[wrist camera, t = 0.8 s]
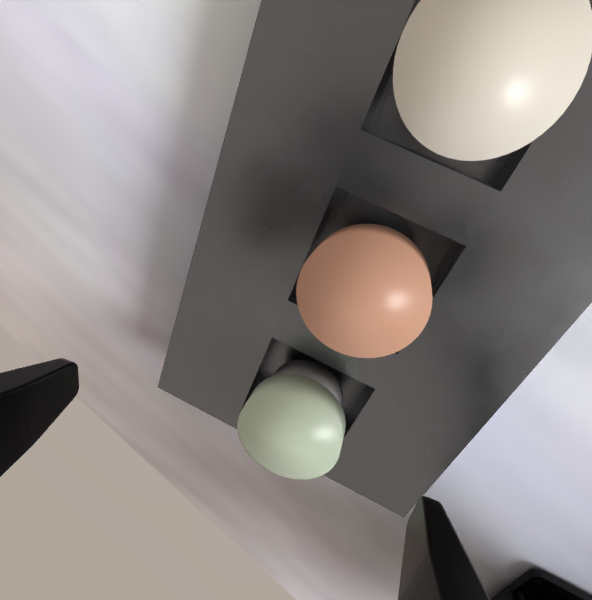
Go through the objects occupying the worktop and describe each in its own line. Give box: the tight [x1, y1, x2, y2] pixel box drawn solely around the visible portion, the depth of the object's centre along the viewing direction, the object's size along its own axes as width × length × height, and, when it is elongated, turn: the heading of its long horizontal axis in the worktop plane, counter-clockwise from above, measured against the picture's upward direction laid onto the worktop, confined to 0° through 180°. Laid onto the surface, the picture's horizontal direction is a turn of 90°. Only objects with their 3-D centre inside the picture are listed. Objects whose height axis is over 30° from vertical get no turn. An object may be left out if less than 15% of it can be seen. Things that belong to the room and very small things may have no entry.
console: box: [158, 0, 592, 517], centre depth 16 cm, size 14×21×3 cm, turn 158°
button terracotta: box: [296, 224, 433, 358], centre depth 14 cm, size 4×4×3 cm
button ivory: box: [393, 0, 592, 161], centre depth 11 cm, size 4×4×3 cm
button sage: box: [238, 360, 346, 480], centre depth 17 cm, size 4×4×3 cm
